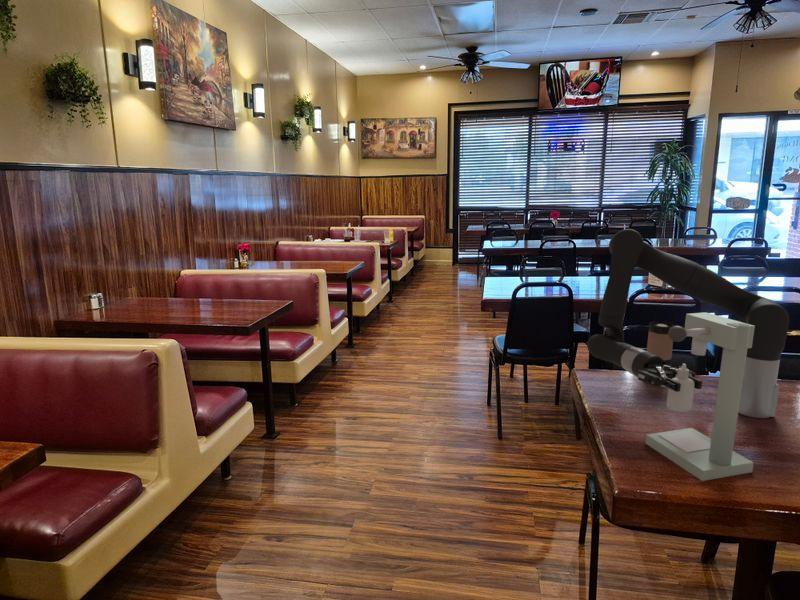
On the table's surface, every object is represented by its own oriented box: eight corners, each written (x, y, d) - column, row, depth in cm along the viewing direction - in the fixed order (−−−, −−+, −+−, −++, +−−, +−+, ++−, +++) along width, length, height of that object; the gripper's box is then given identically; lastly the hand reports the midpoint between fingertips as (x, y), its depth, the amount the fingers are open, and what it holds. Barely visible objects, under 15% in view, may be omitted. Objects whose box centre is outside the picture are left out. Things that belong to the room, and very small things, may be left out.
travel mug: (658, 386, 168) (665, 328, 164) (638, 379, 175) (644, 323, 171) (673, 382, 172) (680, 325, 168) (653, 375, 179) (659, 320, 174)
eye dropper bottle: (666, 403, 131) (671, 359, 129) (691, 408, 129) (697, 363, 126) (665, 410, 128) (671, 364, 125) (691, 414, 125) (697, 368, 122)
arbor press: (626, 446, 129) (638, 312, 122) (690, 436, 134) (706, 307, 127) (680, 484, 112) (699, 332, 105) (752, 472, 117) (774, 325, 110)
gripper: (621, 353, 138) (666, 375, 122) (665, 349, 141) (716, 369, 125) (618, 379, 139) (663, 404, 123) (663, 374, 143) (712, 398, 127)
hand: (689, 386), depth 124 cm, fingers closed on eye dropper bottle, 5 cm apart
